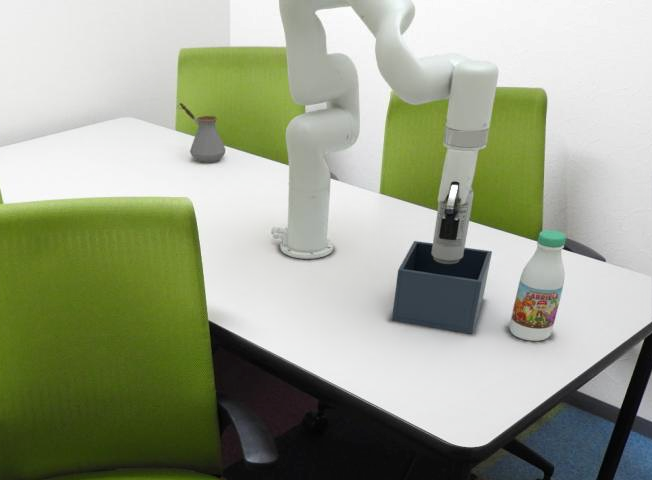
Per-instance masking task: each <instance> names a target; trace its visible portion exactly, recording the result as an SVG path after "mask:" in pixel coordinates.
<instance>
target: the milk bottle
mask: <svg viewBox="0 0 652 480" xmlns="http://www.w3.org/2000/svg"><path fill="white" fill-rule="evenodd" d="M566 241H567V235H566V234H565V233H564V232H562V231H560V230H552V229H546V230H541V231H540V232H539V233H538V237H537V241H536V245H537V247H536V250H535V252H534V253H533V255H532V256H531V258H530V259H529V260H528V261H527V263H525V266H524V267H523V269H522V272H521V274H520V278H519V282H518V286H517V290H516V294H515V299H514V303H513V308H512V313H511V316H510V322H509V331H510V333H511V334H512V335H514V336H515V337H517V338H518V339H522V340H525V341H532V342H537V341H544V340H545V341H546V340H547V339H548V338H550V336H551V335H552V332H553V329H554V325H555V321H556V317H557V313H558V309H559V305H560V301H561V297H562V293H563V289H564V284H565V274H566V273H565V267H564V264H563V263H564V262H563V258H562V250H563V249H564V248H565V244H566Z"/></svg>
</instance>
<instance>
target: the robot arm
mask: <svg viewBox="0 0 652 480" xmlns="http://www.w3.org/2000/svg"><path fill="white" fill-rule="evenodd" d="M278 6H279V7H278V8H279V14H280V19H281V22H282V28H283V32H284V39H285V52H286V65H287V78H288V89H289V94H290V97H291V99H292V101H293V102H294V103H295V104H296V105H299V106H313V105H318V104H324V103H325V104H326V108H323V109H321V108H320V109H317V110H312V111H307V112H304V113H303V112H302V113H300V114H299V115H297V116H294V117H293V118H292V119H291V120H290V122H289V123H288V125H287V126H286V129H285V144H286V150H287V158H288V197H287V198H288V201H287V202H288V203H287V227H284V228H281V227H277V226H272V227H271V231H270V234H271V235H272V239H277V240H278V239H279V240H281V242H280V251H281V252H282V253H283V254H284V255H287V256H289V257H292V258H295V259H296V258H297V259H303V260H304V259H305V260H310V259H319V258H323V257H326V256H328V255H330V254H332V252H333V249H334V244H333V242H332V241H331V240H330V239H328V229H329V215H330V214H329V213H330V200H331V199H330V197H331V171H330V168H329V166H328V164H327V162H326V160H325V156H327V155H329V154H333V153H337V152H341V151H344V150H347V149H350V148H351V147H353V145H355V144H356V142H357V140H358V138H359V135H360V131H361V130H360V129H361V112H360V110H361V109H360V85H359V75H358V70H357V67H356V65H355V63H354V61H353V60H352V59H351V58H350V56H348V55H346V54H344V53H340V52H332V53H328V47H327V34H326V30H325V27H324V25H323V23H322V21H321V19H320V17H318V15H317V14H316V12H317V11H320V10H321V11H322V10H333V9H338V8H348V7H351V9H352V10H353V11H354V13H355V14H356V15H357V17H359V19H360V20H361V22H363V24H364V25H365V26H366V28H367V29H368V31H370V33H371V34H372V35H373V37H374V38H375V45H374V53H375V60H376V65H377V68H378V71H379V73H380V75H381V77H382V79H383V80H384V81H385V83H387V85H388V86H389V87H390V89H391V90H392V91H393V93H394V94H395V95H396V96H397V97H398V98H399V99H401V101H403V102H404V103H407V104H409V105H413V106H420V105H424V104H428V103H432V102H436V101H437V102H438V101H443V100H448V104H447V105H448V107H447V113H446V119H445V125H444V131H443V132H444V133H443V141H442V146H444V147H445V148H447V149H446V153H445V158H444V162H443V167H442V173H441V180H440V185H439V191H438V194H437V195H438V196H437V202H438V204H439V203H441V202H444V200H445V198H446V202H445V207H444V212H443V217H442V219H441V226H440V233H439V238H440V239H447V240H456V238H457V233H458V227H459V221H460V219H458V217H459V212H460V207H461V205H462V204H464V203H465V201H466V198H467V195H468V193H469V190H470V187H472V186H471V184H472V185H473V182H474V178H475V172H476V168H477V162H478V156H479V151H480V150H483V149H485V148H486V147H487V143H488V138H489V131H490V127H491V120H492V114H493V109H494V103H495V99H496V98H495V97H496V91H497V85H498V79H499V72H500V71H499V67H498V65H496V64H495V63H494V62H491V61H487V60H479V59H478V60H474V59H472V58H469V57H467V56H465V55H462V54H459V53H454V52H449V53H442V54H436V55H430V56H424V57H419V58H418V57H417V55H415V53H414V52H413V51H412V49H411V48H410V47H409V46H408V45H407V43H406V42H405V40H404V38H403V35H404V34H405V33H406V31H408V29H409V27H410V26H411V25H412V22H413V20H414V18H415V15H416V7H415V4H414V1H413V0H278ZM458 188H459V190H458ZM459 198H460V199H459ZM456 199H459V203H456V202H455V201H456ZM454 206H457V210H456V209H454Z"/></svg>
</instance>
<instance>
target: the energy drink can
mask: <svg viewBox="0 0 652 480" xmlns="http://www.w3.org/2000/svg"><path fill="white" fill-rule="evenodd" d="M458 190H459V188H458ZM474 194H475V193H474V190H473V183H472V184H471V187H470V190H469V193H468V195H467V198H466V201H465V203H464V204H462V205H461V207H460V212H459V217H458V219H460V221H459V227H458V233H457V238H456V240H447V239H440V238H439V233H440V226H441V219H442V217H443V212H444V207H445V202H446V198H445V200H444V202H441V203H439V202H438V205H437V211H436V212H437V213H436V219H435V227H434V233H433V238H432V239H433V240H432V241H433V242H432V243H433V246H432V253H431V254H432V255H433V257H434V260H435V261H437V262H439V263H443V264H455V263H457V262H459V260H460V259H461V258H462V257H463V254H464V248H466V241H467V236H468V231H469V224H470V219H471V212H472V206H473V202H474V201H473V200H474ZM459 199H460V198H459ZM459 199H456V201H455V202H456V203H459ZM454 209H456V210H457V206H454Z"/></svg>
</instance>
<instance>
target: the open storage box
mask: <svg viewBox="0 0 652 480" xmlns="http://www.w3.org/2000/svg"><path fill="white" fill-rule="evenodd" d="M432 246H433V242H426V241H420V240H414V241H413V242H412V244H411V246H410V248H409V250H408V251H407V253H406V254H405V257H404V258H403V261H402V262H401V264H400V266H399V267H398V269H397V274H396V275H397V276H396V284H395V292H394V301H393V308H392V309H393V310H392V317H391V321H394V322H398V323H404V324H411V325H416V326H422V327H428V328H435V329H439V330H444V331H450V332H458V333H463V334H468V335H472V334H473V332H474V328H475V326H476V323H477V319H478V317H479V313H480V310H481V306H482V304H483V300H484V296H485V291H486V285H487V279H488V274H489V270H490V265H491V261H492V260H491V259H492V256H493V255H492V253H493V251H492V250H485V249H478V248H470V247H465V248H464V254H463V257H462V258H461V259H460V260H459V262H457V263H455V264H443V263H439V262H437V261H435V260H434V257H433V255H432V254H431V253H432Z"/></svg>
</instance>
